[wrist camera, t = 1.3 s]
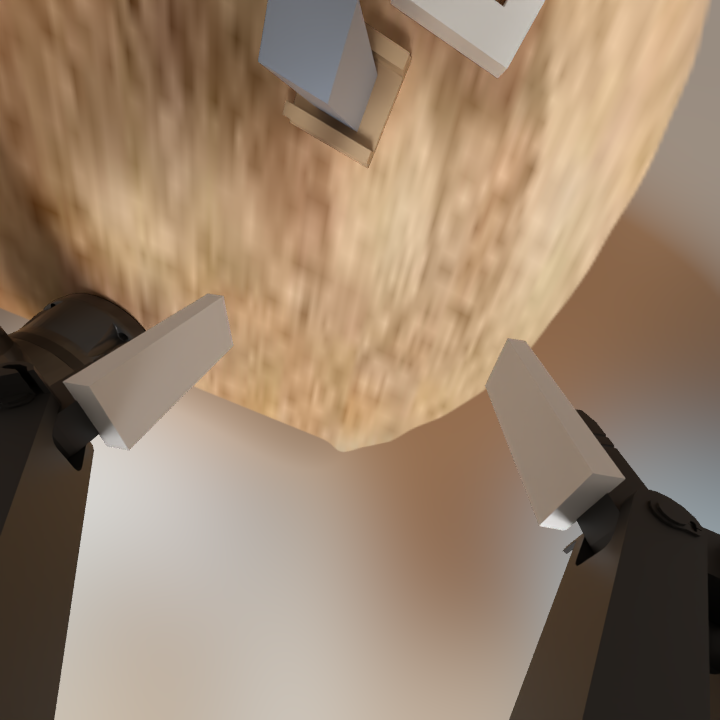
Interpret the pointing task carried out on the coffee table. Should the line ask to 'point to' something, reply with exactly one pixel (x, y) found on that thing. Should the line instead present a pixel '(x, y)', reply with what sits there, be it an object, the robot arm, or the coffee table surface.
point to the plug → (321, 54)
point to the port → (476, 26)
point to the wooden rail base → (384, 93)
